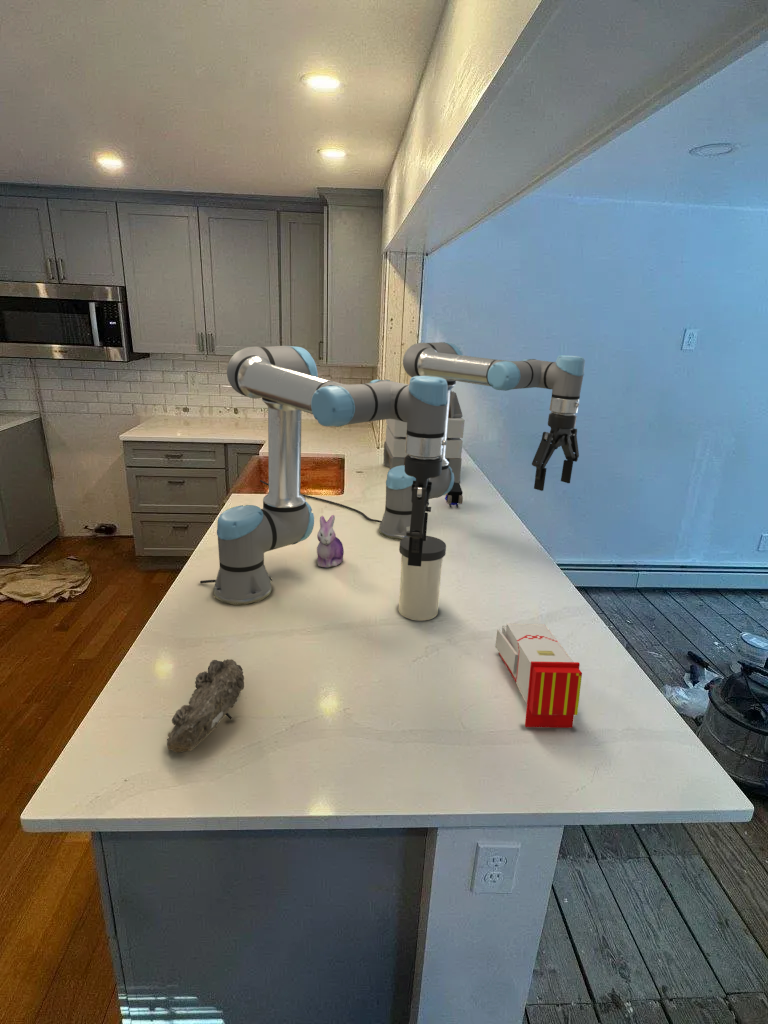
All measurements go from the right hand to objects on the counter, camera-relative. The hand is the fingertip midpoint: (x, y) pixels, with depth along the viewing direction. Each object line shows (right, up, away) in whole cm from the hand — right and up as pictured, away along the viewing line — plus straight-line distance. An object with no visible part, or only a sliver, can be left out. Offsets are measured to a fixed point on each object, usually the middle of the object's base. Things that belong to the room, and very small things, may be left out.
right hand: (552, 485), depth 166 cm
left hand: (-42, -16, -44) cm, 63 cm away
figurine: (-66, -23, +10) cm, 71 cm away
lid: (-39, -16, -22) cm, 48 cm away
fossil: (-82, -47, -57) cm, 110 cm away
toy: (-18, -45, -44) cm, 65 cm away
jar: (-40, -34, -16) cm, 55 cm away
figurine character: (-21, -4, +68) cm, 71 cm away
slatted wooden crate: (-32, +11, +109) cm, 115 cm away
